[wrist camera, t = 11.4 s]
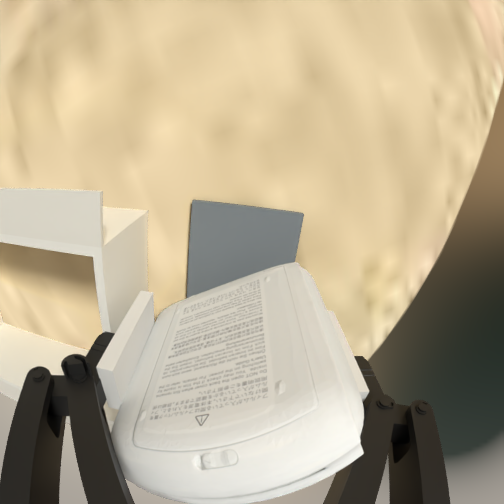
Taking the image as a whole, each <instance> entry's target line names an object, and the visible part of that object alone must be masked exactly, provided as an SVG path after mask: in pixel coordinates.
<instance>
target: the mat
mask: <svg viewBox="0 0 504 504" xmlns="http://www.w3.org/2000/svg"><path fill="white" fill-rule="evenodd" d="M303 216H304V214H303V213H299V212H292V211H285V210H278V209H270V208H262V207H254V206H246V205H238V204H229V203H220V202H211V201H202V200H193V201H192V212H191V226H190V241H189V259H188V282H187V298H189V297H191V296H193V295H197V294H199V293H202V292H205V291H207V290H210V289H213V288H215V287H218V286H221V285H224V284H226V283H229V282H232V281H234V280H237V279H240V278H243V277H246V276H248V275H251V274H254V273H257V272H260V271H263V270H266V269H269V268H272V267H275V266H278V265H283V264H287V263H292V262H295V258H296V253H297V248H298V243H299V238H300V232H301V227H302V222H303Z"/></svg>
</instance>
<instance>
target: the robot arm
mask: <svg viewBox="0 0 504 504" xmlns="http://www.w3.org/2000/svg"><path fill="white" fill-rule="evenodd" d="M328 314H329V316H330V319H331V321H332V324H333V326H334V328H335V331H336V333H337V336H338V338H339V341H340V343H341V346H342V348H343V351H344V353H345V356H346V359H347V361H348V364H349V366H350V369H351V371H352V374H353V377H354V379H355V382H356V384H357V387H358V390H359V392H360V395H361V399H362V402H363V408H364V421H363V428H362V432H361V435H360V440H361V442H360V443H361V446H362V448H363V452H364V454H363V455H362V456H360V457H359V458H357V459H356V460H355V461H353V462H352V463H351V464H349V465H348V466H346V467H344V468H343V469H341V470H340V471H338V472H336V475H335V477H334V480H333V482H332V484H331V487H330V489H329V491H328V494H327V496H326V498H325V500H324V503H323V504H375V501H376V498H377V494H378V491H379V487H380V484H381V480H382V476H383V472H384V468H385V464H386V459H387V455H388V456H389V457H388V458H389V480H390V504H450V497H449V489H448V482H447V476H446V470H445V464H444V458H443V453H442V448H441V443H440V438H439V434H438V430H437V425H436V421H435V417H434V413H433V409H432V407H431V406H430V405H429V404H428V403H427V402H425V401H423V400H415V401H413V402H412V403H411V405H410V406H405V405H398V404H396V403H395V402H394V400H393V399H392V398H391V397H389V396H387V395H384V394H383V392H382V389H381V387H380V385H379V383H378V381H377V379H376V377H375V376H374V372H373V371H372V369H371V366H370V364H369V363H368V361H367V360H366V359H365V358H364V357H363V356H354V355H353V353H352V351H351V349H350V346H349V344H348V342H347V340H346V338H345V335H344V333H343V331H342V329H341V327H340V325H339V322H338V320H337V318H336V316H335V314H334V312H333V311H328ZM154 324H155V322H154V300H153V292H147V291H140V293H139V295H138V296H137V298H136V299H135V301H134V303H133V304H132V306H131V308H130V309H129V311H128V313H127V314H126V316H125V318H124V319H123V321H122V323H121V324H120V326H119V328H118V329H117V331H116V333H110V332H106V331H105V332H104V333H102V334H101V335H99V336H98V337H97V339H96V340H95V342H94V344H93V345H92V347H91V350H89V352H88V353H87V355H86V357H85V356H83V355H81V354H72V355H68V356H67V357H65V358H64V359H63V360H62V363H61V367H62V370H63V373H64V375H51V373H50V371H49V370H48V369H47V368H46V367H42V366H37V367H34V368H32V369H31V370H29V372H28V373H27V375H26V378H25V381H24V384H23V387H22V390H21V393H20V396H19V399H18V403H17V406H16V409H15V413H14V417H13V420H12V424H11V428H10V432H9V436H8V441H7V446H6V451H5V455H4V461H3V467H2V473H1V480H0V504H59V483H60V467H61V455H62V445H63V436H64V429H65V422H66V416H69V417H70V424H71V430H72V437H73V442H74V448H75V453H76V458H77V463H78V467H79V471H80V476H81V480H82V483H83V487H84V491H85V494H86V498H87V501H88V504H135V503H134V501H133V499H132V496H131V494H130V491H129V488H128V486H127V483H126V480H125V478H124V475H123V472H122V469H121V466H120V464H119V461H118V458H117V456H116V453H115V449H114V446H113V443H112V439H111V433H110V429H109V426H108V422H107V418H106V414H105V410H104V404H105V402H106V401H107V404H108V407H110V408H114V409H118V410H119V408H120V406H121V404H122V401H123V399H124V396H125V393H126V391H127V388H128V386H129V383H130V381H131V378H132V376H133V373H134V371H135V369H136V366H137V364H138V361H139V359H140V356H141V354H142V352H143V350H144V347H145V345H146V342H147V340H148V338H149V335H150V333H151V331H152V328H153V326H154Z"/></svg>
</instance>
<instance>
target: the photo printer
mask: <svg viewBox="0 0 504 504" xmlns="http://www.w3.org/2000/svg"><path fill="white" fill-rule="evenodd" d="M363 421H364V408H363V402H362V399H361V395H360V392H359V390H358V387H357V384H356V382H355V379H354V377H353V374H352V371H351V369H350V366H349V364H348V361H347V359H346V356H345V353H344V351H343V348H342V346H341V343H340V341H339V338H338V336H337V333H336V331H335V328H334V326H333V324H332V321H331V319H330V316H329V314H328V311H327V309H326V307H325V304H324V302H323V300H322V297H321V295H320V293H319V290H318V288H317V286H316V284H315V281H314V279H313V278H312V276H311V275H310V273H309V272H308V271H306V270H305V269H304V268H302V267H300V265H299V263H297V262H292V263H287V264H283V265H278V266H275V267H272V268H269V269H266V270H263V271H260V272H257V273H254V274H251V275H248V276H246V277H243V278H240V279H237V280H234V281H232V282H229V283H226V284H224V285H221V286H218V287H215V288H213V289H210V290H207V291H205V292H202V293H199V294H197V295H193V296H191V297H189V298H186V299H184V300H181V301H179V302H177V303H174V304H172V305H171V306H169V307H167V308H165V309H164V310H163V311H162V312H160V314H159V315H158V317H157V319H156V322H155V324H154V326H153V328H152V331H151V333H150V335H149V338H148V340H147V342H146V345H145V347H144V350H143V352H142V354H141V356H140V359H139V361H138V364H137V366H136V369H135V371H134V373H133V376H132V378H131V381H130V383H129V386H128V388H127V391H126V393H125V396H124V399H123V401H122V404H121V406H120V408H119V411H118V414H117V416H116V419H115V421H114V424H113V427H112V431H111V439H112V443H113V446H114V449H115V453H116V456H117V458H118V461H119V464H120V466H121V469H122V472H123V475H124V478H125V479H127V480H129V481H131V482H132V483H134V484H136V485H137V486H138V487H140V488H142V489H144V490H146V491H148V492H150V493H152V494H155V495H157V496H160V497H163V498H166V499H170V500H174V501H178V502H184V503H189V504H247V503H254V502H259V501H264V500H269V499H272V498H276V497H280V496H283V495H286V494H290V493H293V492H295V491H298V490H301V489H303V488H306V487H308V486H311V485H313V484H315V483H317V482H319V481H321V480H323V479H325V478H327V477H329V476H331V475H333V474H334V473H336V472H338V471H340V470H341V469H343V468H344V467H346V466H348V465H349V464H351V463H352V462H353V461H355V460H356V459H357V458H359V457H360V456H362V455H363V454H364V452H363V448H362V446H361V443H360V442H361V440H360V435H361V432H362V428H363Z"/></svg>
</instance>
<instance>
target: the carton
mask: <svg viewBox="0 0 504 504" xmlns="http://www.w3.org/2000/svg"><path fill="white" fill-rule="evenodd" d="M0 242H3V243H9V244H15V245H21V246H27V247H33V248H39V249H45V250H51V251H58V252H64V253H71V254H77V255H84V256H91V257H93V262H94V273H95V282H96V290H97V298H98V305H99V312H100V318H101V324H102V329H103V333H104V332H105V331H106V332H110V333H116V331H117V329H118V328H119V326H120V324H121V323H122V321H123V319H124V318H125V316H126V314H127V313H128V311H129V309H130V308H131V306H132V304H133V303H134V301H135V299H136V298H137V296H138V295H139V293H140V291H147V292H148V210H137V209H126V208H114V207H103V191H95V190H75V189H47V188H0ZM88 352H89V350H87V349H83V348H79V347H76V346H72V345H69V344H65V343H62V342H59V341H55V340H52V339H49V338H46V337H43V336H40V335H37V334H34V333H31V332H28V331H25V330H22V329H20V328H17V327H14V326H12V325H9V324H6V323H4V321H3V318H2V315H1V311H0V393H2V394H4V395H6V396H7V397H9V398H11V399H13V400H15V401H17V402H18V399H19V396H20V393H21V390H22V387H23V384H24V381H25V378H26V375H27V373H28V372H29V370H31V369H32V368H34V367H37V366H42V367H46V368H47V369H48V370H49V371H50V373H51V375H64V373H63V370H62V367H61V363H62V360H63V359H64V358H65V357H67V356H68V355H72V354H81V355H83V356H85V357H86V355H87V353H88ZM104 410H105V414H106V418H107V422H108V426H109V429H110V433H111V431H112V427H113V424H114V421H115V419H116V416H117V414H118V411H119V410H118V409H114V408H110V407H108V404H107V401H106V402H105V404H104ZM65 423H67V424H70V417H69V416H66V422H65ZM70 425H71V424H70Z"/></svg>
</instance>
